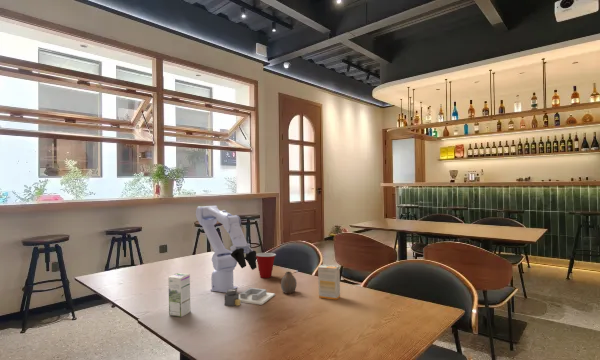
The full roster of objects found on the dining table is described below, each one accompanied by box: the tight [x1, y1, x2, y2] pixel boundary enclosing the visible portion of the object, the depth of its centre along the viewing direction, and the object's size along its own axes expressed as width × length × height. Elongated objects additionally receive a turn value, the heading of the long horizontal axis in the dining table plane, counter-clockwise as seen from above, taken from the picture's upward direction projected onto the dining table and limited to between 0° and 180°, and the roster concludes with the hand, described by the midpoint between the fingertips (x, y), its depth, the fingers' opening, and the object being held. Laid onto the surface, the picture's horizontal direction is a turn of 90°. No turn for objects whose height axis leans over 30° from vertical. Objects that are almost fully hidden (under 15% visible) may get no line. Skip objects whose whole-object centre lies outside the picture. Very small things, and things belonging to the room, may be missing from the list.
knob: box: [224, 288, 241, 307], centre depth 135 cm, size 6×4×6 cm
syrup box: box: [167, 272, 192, 318], centre depth 126 cm, size 6×6×14 cm
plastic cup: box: [256, 252, 277, 279], centre depth 174 cm, size 11×11×12 cm
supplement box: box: [317, 264, 341, 301], centre depth 141 cm, size 8×5×13 cm, turn 65°
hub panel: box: [239, 287, 276, 306], centre depth 142 cm, size 14×12×3 cm
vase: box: [280, 271, 297, 294], centre depth 149 cm, size 7×7×9 cm
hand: (249, 267), depth 138 cm, fingers open, 7 cm apart
